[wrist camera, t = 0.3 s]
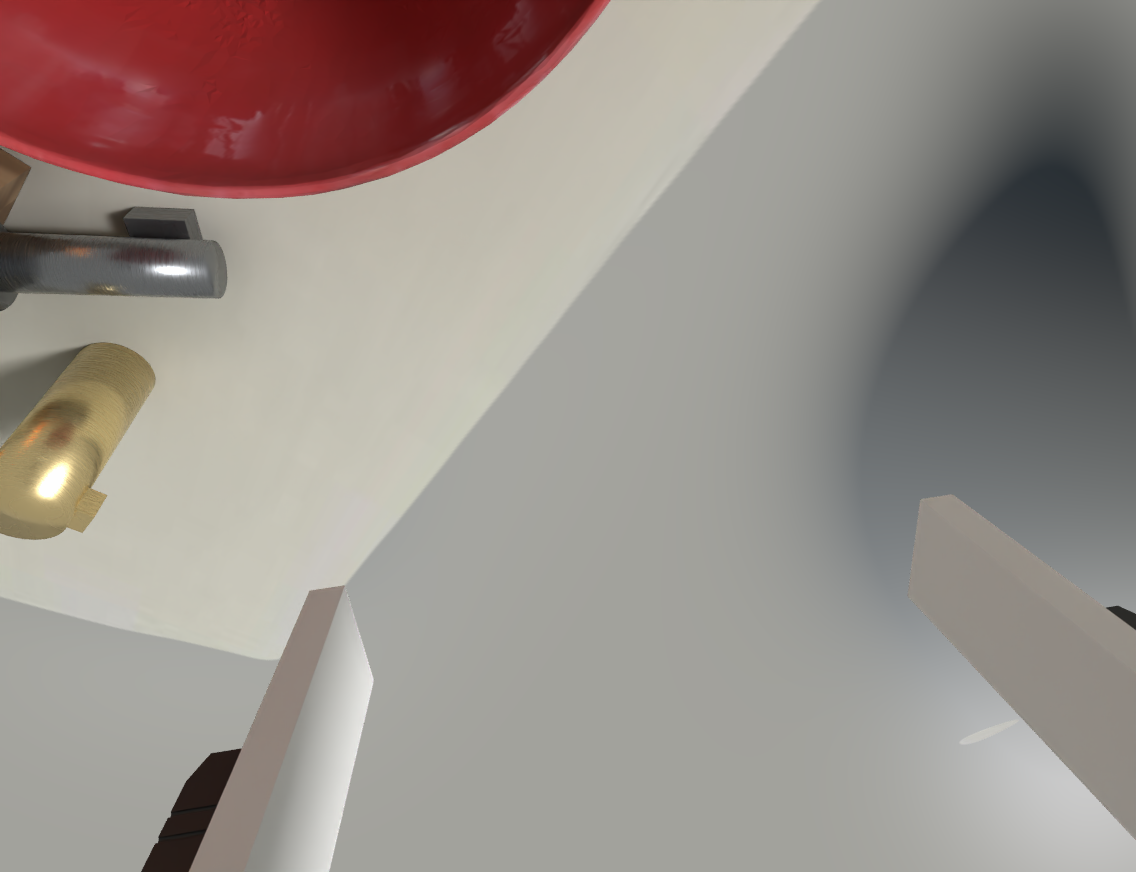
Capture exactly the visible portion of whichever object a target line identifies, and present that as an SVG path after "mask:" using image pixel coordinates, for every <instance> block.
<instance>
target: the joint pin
mask: <svg viewBox="0 0 1136 872" xmlns="http://www.w3.org/2000/svg"><path fill="white" fill-rule="evenodd" d="M154 385H155V374H154V372H153V369H152V368H151V366H150V365H149V364H148V362H147V361H146V360H145V359H144V358H142V357H141V356H140V355H139V354H137V353H136V352H134V351H132V350H130V349H128V348H126V347H123V346H120V345H117V344H112V343H94V344H91V345H88V346H86V347H84V348H83V349H82V350H81V351H80V352H79V353H78V355H77V356H76V357H75V358H74V359H73V361H72V362H71V363H70V364H69V365H68V367H67V368H66V369H65V370H64V372H63V373H62V374H61V375H60V376H59V378H58V379H57V380H56V381H55V382H54V384H53V385H52V386H51V387H50V389H49V390H48V391H47V392H46V393H45V395H44V396H43V397H42V398H41V400H40V401H39V402H38V403H37V404H36V406H35V407H34V408H33V409H32V410H31V412H30V413H29V414H28V415H27V417H26V418H25V419H24V420H23V421H22V423H21V424H20V425H19V426H18V427H17V429H16V430H15V431H14V432H13V434H12V435H11V436H10V437H9V438H8V440H7V441H6V442H5V443H4V444H3V446H2V447H1V448H0V533H1V534H4V535H7V536H11V537H16V538H21V539H33V540H36V539H47V538H51V537H54V536H57V535H59V534H60V533H62V532H63V531H64V530H65V529H66V527H68V528H71V529H73V530H76V531H79V532H81V533H83V531H84V530H85V529H86V527H87V526H88V525H89V523H90V522H91V521H92V520H93V518H94V517H95V515H96V513H97V512H98V510H99V508H100V507H101V505H102V503H103V502H104V500H105V498H106V497H107V495H105V494H103V493H100V492H98V491H95V490H93V489H91V487H92V486H93V484H94V482H95V481H96V479H97V478H98V476H99V474H100V473H101V471H102V470H103V468H104V466H105V465H106V463H107V462H108V460H109V458H110V457H111V455H112V454H113V452H114V450H115V449H116V447H117V446H118V444H119V442H120V441H121V439H122V438H123V436H124V434H125V433H126V431H127V429H128V428H129V426H130V425H131V423H132V421H133V420H134V418H135V417H136V415H137V413H138V412H139V410H140V409H141V407H142V405H143V404H144V402H145V401H146V399H147V397H148V396H149V394H150V393H151V391H152V389H153V388H154Z"/></svg>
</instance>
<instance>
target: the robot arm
mask: <svg viewBox="0 0 1136 872" xmlns="http://www.w3.org/2000/svg"><path fill="white" fill-rule="evenodd" d="M908 597H909V598H910V599H911V600H912V601H913V603H914V604H915V605H916V606H917V607H918V608H919V609H920V610H921V611H922V612H923V613H924V614H925V615H926V616H927V617H928V618H929V620H930V621H931V622H932V623H933V624H934V625H935V626H936V627H937V628H938V629H939V630H940V631H941V632H942V634H943V635H944V636H945V637H946V638H947V639H948V640H949V641H950V642H951V643H952V644H953V645H954V646H955V647H956V648H957V650H958V651H959V652H960V653H961V654H962V655H963V656H964V657H965V658H966V659H967V660H968V661H969V662H970V663H971V664H972V666H973V667H974V668H975V669H976V670H977V671H978V672H979V673H980V674H981V675H982V676H983V677H984V678H985V679H986V680H987V682H988V683H989V684H990V685H991V686H992V687H993V688H994V689H995V690H996V691H997V692H998V693H999V694H1000V695H1001V696H1002V698H1003V699H1004V700H1005V701H1006V702H1007V703H1008V704H1009V705H1010V706H1011V707H1012V708H1013V709H1014V710H1015V712H1016V713H1017V714H1018V715H1019V716H1020V717H1021V718H1022V719H1023V720H1024V721H1025V722H1026V723H1027V724H1028V725H1029V726H1030V728H1031V729H1032V730H1033V731H1034V732H1035V733H1036V734H1037V735H1038V736H1039V737H1040V738H1041V739H1042V740H1043V741H1044V742H1045V744H1046V745H1047V746H1048V747H1049V748H1050V749H1051V750H1052V751H1053V752H1054V753H1055V754H1056V755H1057V756H1058V757H1059V759H1060V760H1061V761H1062V762H1063V763H1064V764H1065V765H1066V766H1067V767H1068V768H1069V769H1070V770H1071V771H1072V772H1073V773H1074V774H1075V776H1076V777H1077V778H1078V779H1079V780H1080V781H1081V782H1082V783H1083V784H1084V785H1085V786H1086V787H1087V788H1088V789H1089V790H1090V792H1091V793H1092V794H1093V795H1094V796H1095V797H1096V798H1097V799H1098V800H1099V801H1100V802H1101V803H1102V804H1103V805H1104V807H1105V808H1106V809H1107V810H1108V811H1109V812H1110V813H1111V814H1112V815H1113V816H1114V817H1115V818H1116V819H1117V820H1118V821H1119V823H1121V825H1122V826H1123V827H1124V828H1125V829H1126V830H1127V831H1128V832H1129V833H1130V834H1131V835H1132V836H1133V837H1134V839H1135V840H1136V614H1135V613H1133V612H1131V611H1128V610H1126V609H1124V608H1122V607H1120V606H1113V607H1107V608H1105V607H1104V606H1102V605H1101V604H1100V603H1098V602H1097V601H1095V600H1094V599H1093V598H1092V597H1090V596H1089V595H1087V594H1086V593H1085V592H1083V591H1082V590H1081V589H1079V588H1078V587H1077V586H1075V585H1074V584H1073V583H1071V582H1070V581H1069V580H1067V579H1066V578H1065V577H1063V576H1062V575H1060V574H1059V573H1058V572H1056V571H1055V570H1054V569H1052V568H1051V567H1050V566H1048V565H1047V564H1046V563H1044V562H1043V561H1041V560H1040V559H1039V558H1037V557H1036V556H1035V555H1033V554H1032V553H1031V552H1029V551H1028V550H1027V549H1025V548H1024V547H1023V546H1021V545H1020V544H1018V543H1017V542H1016V541H1015V540H1013V539H1012V538H1010V537H1009V536H1008V535H1006V534H1005V533H1004V532H1002V531H1001V530H1000V529H998V528H997V527H996V526H994V525H993V524H991V523H990V522H989V521H988V520H986V519H985V518H983V517H982V516H981V515H979V514H978V513H977V512H975V511H974V510H972V509H971V508H970V507H969V506H967V505H966V504H965V503H963V502H962V501H960V500H959V499H958V498H956V497H955V496H954V495H946V496H939V497H933V498H926V499H920V506H919V514H918V522H917V529H916V536H915V544H914V551H913V559H912V567H911V574H910V582H909V590H908ZM373 682H374V679H373V676H372V673H371V669H370V666H369V663H368V660H367V656H366V653H365V650H364V646H363V643H362V640H361V637H360V633H359V630H358V627H357V623H356V620H355V617H354V614H353V610H352V607H351V604H350V600H349V598H348V594H347V591H346V587H345V586H338V587H332V588H325V589H318V590H312V591H309V594H308V596H307V598H306V601H305V603H304V605H303V608H302V610H301V612H300V615H299V617H298V619H297V622H296V624H295V626H294V628H293V631H292V633H291V635H290V638H289V640H288V642H287V645H286V647H285V649H284V652H283V654H282V656H281V659H280V661H279V663H278V666H277V668H276V671H275V673H274V675H273V678H272V680H271V682H270V684H269V687H268V689H267V691H266V694H265V696H264V698H263V701H262V703H261V705H260V708H259V710H258V712H257V715H256V717H255V719H254V722H253V724H252V726H251V728H250V731H249V733H248V735H247V738H246V740H245V743H244V745H243V747H242V749H236V750H230V751H223V752H217V753H211V754H210V755H209V757H207V758H206V760H205V761H204V762H203V763H202V764H201V765H200V767H198V769H197V770H196V771H195V772H194V773H193V774H192V776H190V778H189V779H188V780H187V781H186V783H185V785H184V787H183V789H182V791H181V793H180V795H179V797H178V799H177V801H176V803H175V805H174V807H173V809H172V811H171V817H170V818H168V819H167V821H166V823H165V825H164V827H163V829H162V831H161V833H160V835H159V841H158V843H156V844H155V845H154V847H153V849H152V851H151V853H150V855H149V857H148V859H147V861H146V863H145V865H144V867H143V869H142V871H141V872H329V870H330V865H331V860H332V857H333V852H334V848H335V844H336V840H337V835H338V831H339V827H340V822H341V818H342V814H343V809H344V805H345V801H346V797H347V792H348V788H349V784H350V780H351V776H352V771H353V767H354V763H355V758H356V754H357V750H358V745H359V741H360V737H361V733H362V729H363V724H364V720H365V716H366V711H367V707H368V703H369V699H370V694H371V690H372V685H373Z"/></svg>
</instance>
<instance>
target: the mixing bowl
mask: <svg viewBox="0 0 1136 872" xmlns="http://www.w3.org/2000/svg"><path fill="white" fill-rule="evenodd" d="M609 2H610V0H0V145H1V146H4V147H6V148H9V149H11V150H14V151H16V152H19V153H22V154H24V155H27V156H29V157H32V158H34V159H37V160H40V161H43V162H46V163H50V164H53V165H56V166H59V167H62V168H65V169H68V170H71V171H75V172H79V173H83V174H87V175H91V176H94V177H98V178H102V179H106V180H109V181H113V182H117V183H121V184H125V185H130V186H135V187H140V188H145V189H151V190H157V191H162V192H168V193H173V194H179V195H184V196H199V197H214V198H232V199H247V198H284V197H294V196H305V195H315V194H320V193H325V192H330V191H335V190H340V189H345V188H349V187H353V186H356V185H360V184H363V183H367V182H370V181H374V180H377V179H381V178H384V177H388V176H391V175H393V174H396V173H398V172H401V171H403V170H405V169H408V168H410V167H413V166H415V165H418V164H420V163H422V162H424V161H427V160H429V159H431V158H433V157H435V156H437V155H439V154H441V153H443V152H445V151H446V150H448V149H450V148H452V147H454V146H456V145H457V144H459V143H461V142H463V141H464V140H466V139H467V138H469V137H470V136H472V135H474V134H475V133H477V132H478V131H480V130H482V129H483V128H485V127H486V126H488V125H489V124H491V123H492V122H493V121H495V120H496V119H497V118H499V117H500V116H501V115H502V114H504V113H505V112H506V111H508V110H509V109H510V108H511V107H513V106H514V105H515V104H517V103H518V102H519V101H520V100H521V99H522V98H523V97H525V96H526V95H527V94H528V93H529V92H530V91H531V90H532V89H533V88H534V87H536V86H537V85H538V84H539V83H540V82H541V81H542V80H543V79H544V78H545V77H546V76H547V75H548V74H549V73H550V72H551V71H552V70H553V69H554V68H555V67H556V66H557V65H558V64H559V63H560V62H561V61H562V59H563V58H564V57H565V56H566V55H567V54H568V53H569V52H570V51H571V50H572V49H573V48H574V46H575V45H576V44H577V43H578V42H579V40H580V39H581V38H582V37H583V36H584V34H585V33H586V32H587V31H588V29H589V28H590V27H591V26H592V25H593V23H594V22H595V21H596V20H597V18H598V17H599V15H600V14H601V13H602V11H603V10H604V9H605V7H606V6H607V5H608V3H609Z"/></svg>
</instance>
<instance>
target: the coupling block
mask: <svg viewBox="0 0 1136 872" xmlns="http://www.w3.org/2000/svg"><path fill="white" fill-rule="evenodd" d="M30 169H31V167H30V166H28V165H26V164H25V163H23V162H21V161H20V160H18V159H17V158H15V157H13V156H12V155H10V154H9V153H7V152H5V151H4V150H2V149H0V223H1V224H2V225H4V223H5V221H6V219H7V216H8V214H9V212H10V210H11V208H12V206H13V204H14V202H15V200H16V198H17V196H18V194H19V192H20V190H21V188H22V186H23V184H24V181H25V179H26V177H27V175H28V173H29V171H30Z"/></svg>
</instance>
